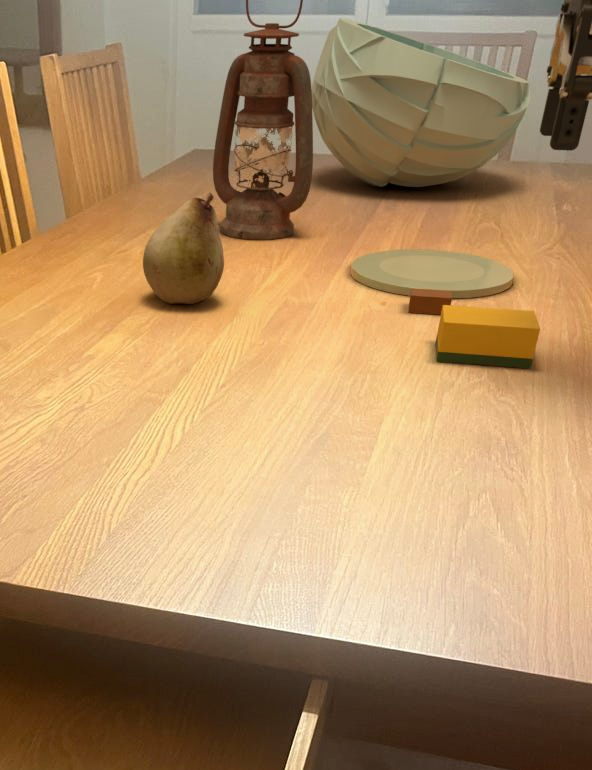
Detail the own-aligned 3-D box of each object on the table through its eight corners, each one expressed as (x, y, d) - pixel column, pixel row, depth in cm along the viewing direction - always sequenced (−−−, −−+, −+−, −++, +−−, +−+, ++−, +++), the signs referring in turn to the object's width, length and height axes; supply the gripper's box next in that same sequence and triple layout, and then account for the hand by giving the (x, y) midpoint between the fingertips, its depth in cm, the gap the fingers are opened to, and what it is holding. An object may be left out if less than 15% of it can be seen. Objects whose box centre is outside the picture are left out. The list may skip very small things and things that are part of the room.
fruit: (231, 310, 112) (238, 199, 105) (152, 315, 110) (155, 203, 103) (206, 286, 120) (212, 181, 113) (133, 291, 118) (134, 185, 112)
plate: (506, 261, 129) (507, 253, 128) (518, 303, 113) (520, 294, 113) (354, 253, 133) (355, 245, 133) (346, 292, 117) (347, 284, 117)
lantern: (285, 246, 137) (313, -58, 116) (191, 230, 145) (202, -56, 125) (322, 231, 144) (355, -57, 123) (230, 217, 152) (247, -55, 132)
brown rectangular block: (448, 308, 112) (451, 290, 111) (448, 315, 110) (452, 297, 109) (408, 305, 113) (411, 287, 112) (408, 312, 111) (411, 294, 110)
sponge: (524, 349, 100) (534, 310, 98) (530, 369, 95) (540, 328, 93) (435, 343, 102) (442, 304, 100) (436, 361, 97) (443, 321, 95)
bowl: (455, 195, 189) (512, 72, 176) (485, 239, 161) (555, 96, 147) (287, 140, 187) (331, 11, 174) (287, 174, 159) (340, 23, 146)
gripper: (681, -92, 69) (615, 157, 79) (645, -85, 81) (590, 132, 90) (570, -90, 71) (518, 154, 80) (550, -83, 82) (506, 129, 91)
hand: (556, 142), depth 85 cm, fingers open, 8 cm apart
